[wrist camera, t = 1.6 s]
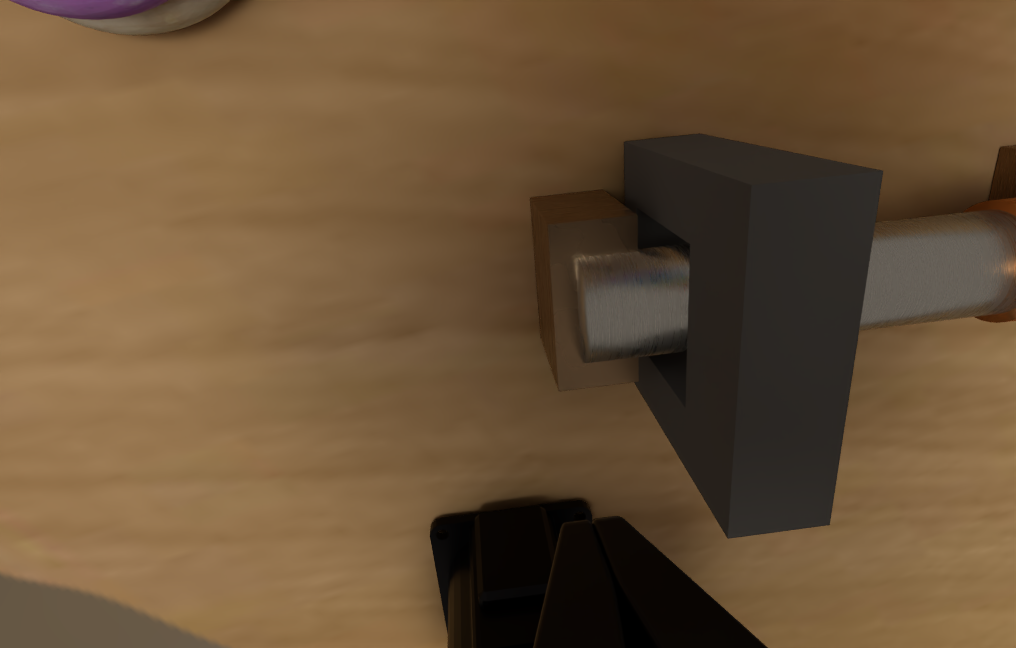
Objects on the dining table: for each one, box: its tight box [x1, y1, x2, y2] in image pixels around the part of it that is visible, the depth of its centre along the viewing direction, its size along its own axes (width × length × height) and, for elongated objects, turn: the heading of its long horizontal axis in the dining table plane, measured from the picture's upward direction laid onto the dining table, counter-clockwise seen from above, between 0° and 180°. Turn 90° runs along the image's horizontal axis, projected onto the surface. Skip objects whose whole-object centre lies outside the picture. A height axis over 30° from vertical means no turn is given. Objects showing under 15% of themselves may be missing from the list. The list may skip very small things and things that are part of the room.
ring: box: [624, 134, 883, 538], centre depth 16 cm, size 2×8×8 cm, turn 5°
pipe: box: [530, 145, 1016, 391], centre depth 18 cm, size 18×5×6 cm, turn 95°
